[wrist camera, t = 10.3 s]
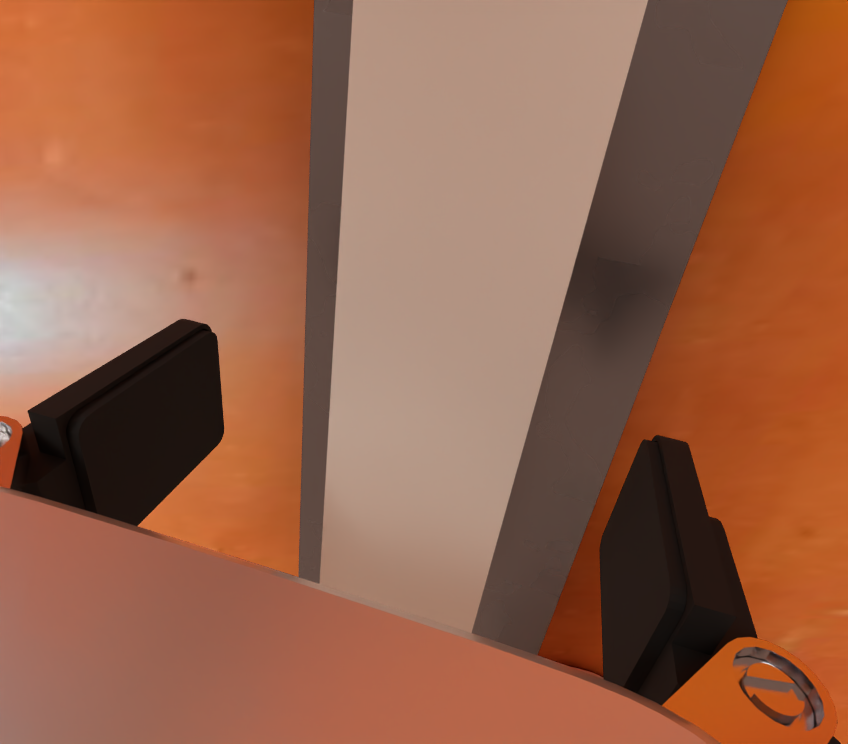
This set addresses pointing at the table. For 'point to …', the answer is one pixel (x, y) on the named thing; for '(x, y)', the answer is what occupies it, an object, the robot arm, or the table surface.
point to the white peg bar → (455, 274)
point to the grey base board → (587, 291)
